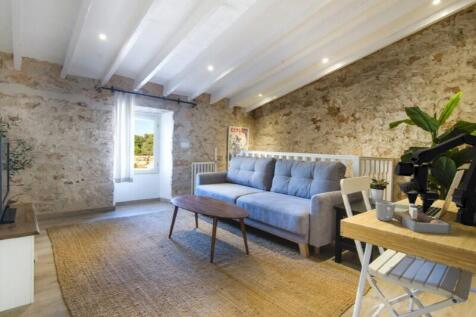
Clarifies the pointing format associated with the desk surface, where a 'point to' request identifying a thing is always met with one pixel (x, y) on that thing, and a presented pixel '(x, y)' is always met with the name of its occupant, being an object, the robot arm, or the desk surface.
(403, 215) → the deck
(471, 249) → the desk surface
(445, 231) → the bin
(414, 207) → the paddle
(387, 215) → the cup
